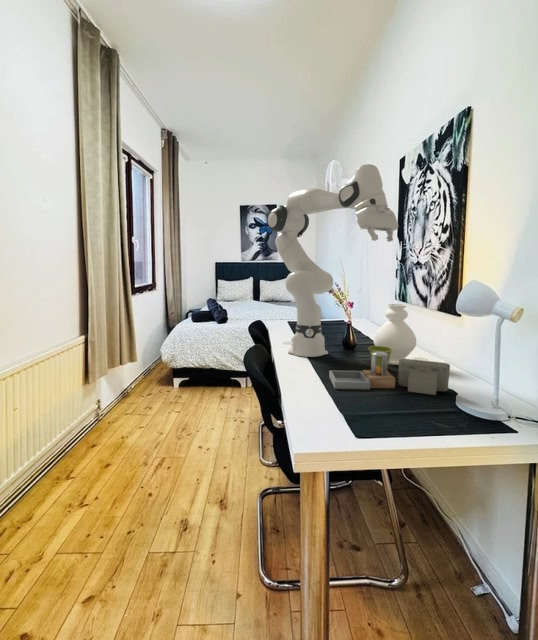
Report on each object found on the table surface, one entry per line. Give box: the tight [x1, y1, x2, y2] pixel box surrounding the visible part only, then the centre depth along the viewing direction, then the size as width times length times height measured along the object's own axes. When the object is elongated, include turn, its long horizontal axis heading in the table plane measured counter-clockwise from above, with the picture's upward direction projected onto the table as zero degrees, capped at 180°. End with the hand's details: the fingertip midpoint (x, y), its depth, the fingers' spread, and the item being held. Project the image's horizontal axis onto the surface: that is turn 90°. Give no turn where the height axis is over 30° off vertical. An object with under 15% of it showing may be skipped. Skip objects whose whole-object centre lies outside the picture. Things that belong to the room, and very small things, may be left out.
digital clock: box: [397, 358, 451, 396], centre depth 130 cm, size 16×9×11 cm, turn 55°
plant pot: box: [367, 345, 393, 371], centre depth 155 cm, size 9×9×9 cm
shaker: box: [370, 351, 388, 376], centre depth 136 cm, size 6×6×8 cm
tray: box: [328, 370, 371, 391], centre depth 137 cm, size 14×12×2 cm
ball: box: [376, 366, 382, 374], centre depth 136 cm, size 3×3×3 cm
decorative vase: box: [373, 303, 417, 366], centre depth 167 cm, size 18×18×25 cm
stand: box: [362, 369, 396, 389], centre depth 137 cm, size 10×9×4 cm
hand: (382, 240), depth 144 cm, fingers open, 8 cm apart
